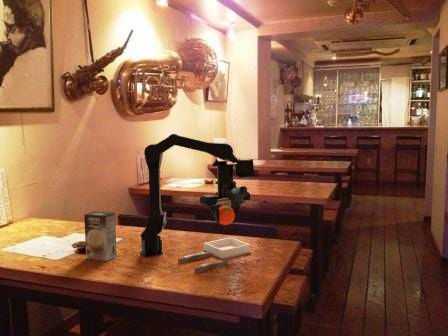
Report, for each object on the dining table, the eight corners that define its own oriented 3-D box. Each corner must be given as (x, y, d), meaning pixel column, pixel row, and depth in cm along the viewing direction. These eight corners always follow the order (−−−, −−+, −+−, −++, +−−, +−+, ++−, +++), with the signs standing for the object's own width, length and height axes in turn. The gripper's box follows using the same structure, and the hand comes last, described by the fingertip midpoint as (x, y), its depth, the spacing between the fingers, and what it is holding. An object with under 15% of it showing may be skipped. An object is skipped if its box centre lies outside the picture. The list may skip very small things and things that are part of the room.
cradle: (196, 273, 126) (196, 267, 126) (178, 262, 136) (177, 257, 136) (227, 265, 133) (227, 259, 132) (208, 255, 143) (208, 250, 142)
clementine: (238, 226, 143) (238, 207, 142) (219, 228, 141) (219, 208, 140) (231, 221, 150) (231, 203, 150) (213, 223, 149) (213, 204, 148)
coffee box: (85, 259, 142) (82, 214, 140) (96, 253, 148) (94, 210, 146) (107, 261, 139) (104, 215, 137) (117, 255, 145) (115, 211, 143)
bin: (222, 259, 139) (222, 250, 138) (203, 250, 149) (203, 242, 148) (250, 252, 145) (250, 244, 145) (230, 244, 155) (230, 237, 155)
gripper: (215, 183, 132) (216, 229, 134) (259, 178, 143) (260, 221, 144) (198, 179, 142) (199, 223, 143) (241, 175, 152) (241, 216, 153)
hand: (226, 221), depth 146 cm, fingers closed on clementine, 7 cm apart
